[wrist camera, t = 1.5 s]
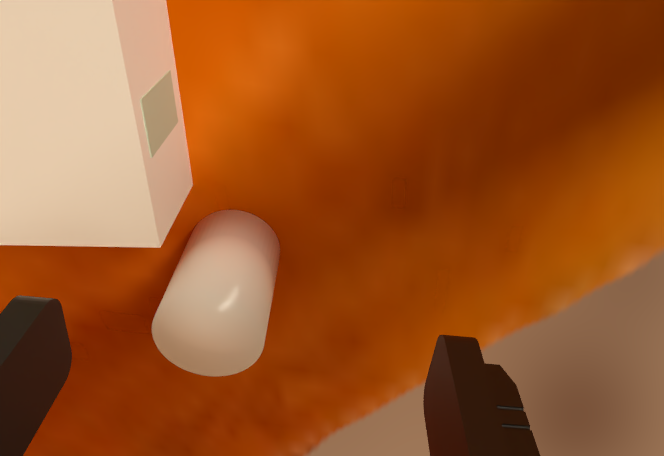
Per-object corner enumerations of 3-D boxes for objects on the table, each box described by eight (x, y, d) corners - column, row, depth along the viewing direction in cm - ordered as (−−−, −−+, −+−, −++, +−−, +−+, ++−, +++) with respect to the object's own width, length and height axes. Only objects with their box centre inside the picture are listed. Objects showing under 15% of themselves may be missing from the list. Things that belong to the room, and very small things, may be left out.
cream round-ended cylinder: (281, 213, 29) (264, 297, 23) (279, 287, 31) (263, 380, 25) (187, 206, 29) (146, 288, 23) (192, 281, 31) (157, 372, 25)
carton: (164, -29, 23) (112, -6, 18) (194, 183, 28) (161, 247, 23) (-26, -31, 23) (-132, -8, 18) (40, 180, 28) (-27, 244, 23)
